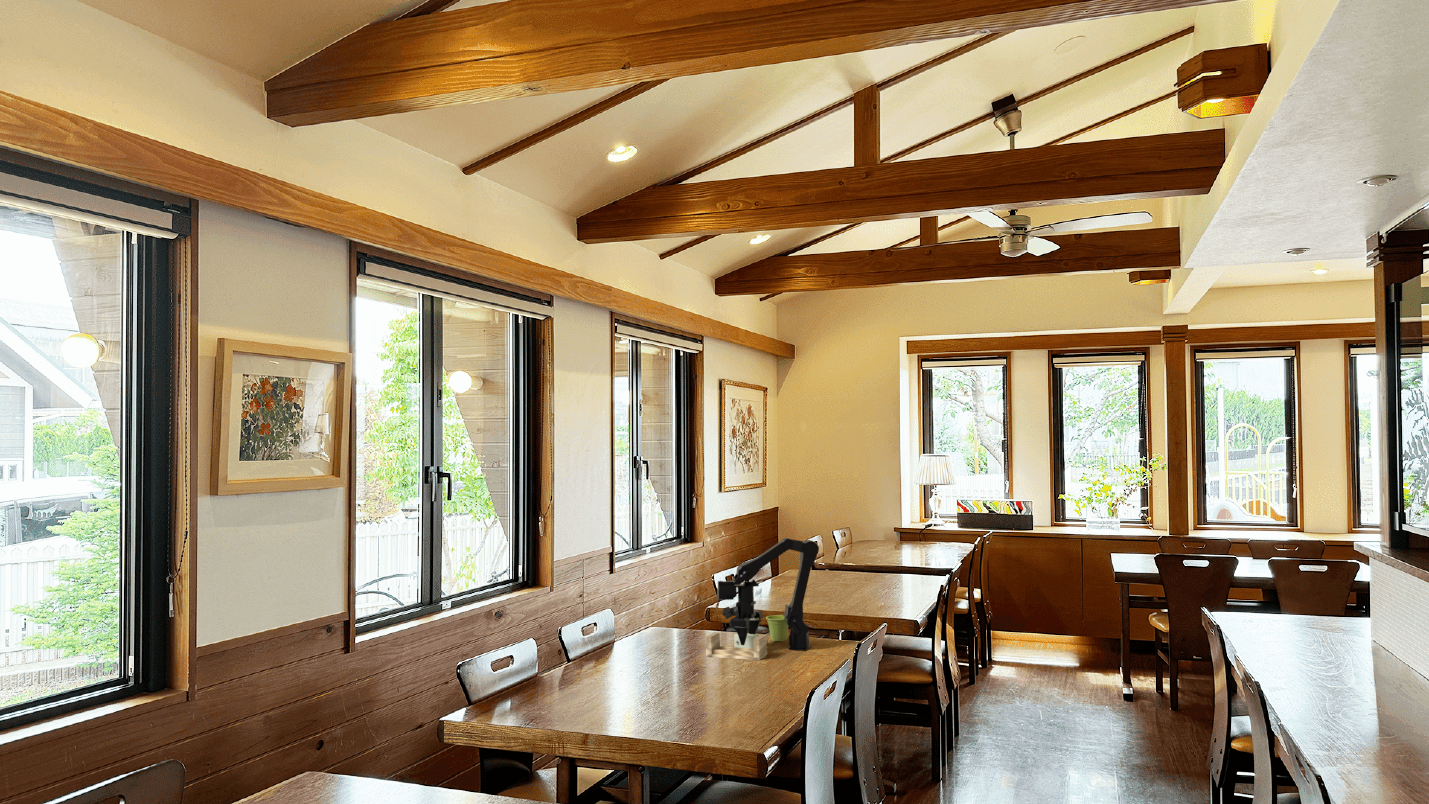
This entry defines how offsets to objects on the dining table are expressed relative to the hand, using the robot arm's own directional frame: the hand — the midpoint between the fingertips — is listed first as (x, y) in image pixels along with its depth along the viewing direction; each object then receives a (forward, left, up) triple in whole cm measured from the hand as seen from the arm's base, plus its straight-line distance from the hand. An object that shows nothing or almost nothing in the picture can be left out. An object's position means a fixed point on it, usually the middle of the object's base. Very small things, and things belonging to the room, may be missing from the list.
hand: (747, 642), depth 326 cm
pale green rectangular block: (0, 0, -3) cm, 3 cm away
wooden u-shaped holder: (+1, +8, -3) cm, 9 cm away
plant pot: (-5, -21, -3) cm, 22 cm away
